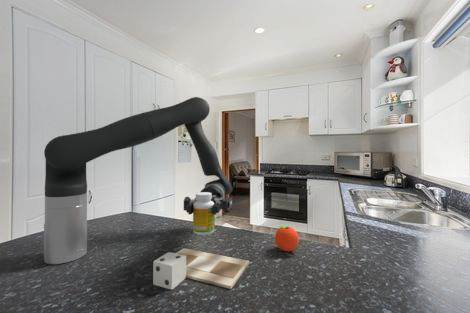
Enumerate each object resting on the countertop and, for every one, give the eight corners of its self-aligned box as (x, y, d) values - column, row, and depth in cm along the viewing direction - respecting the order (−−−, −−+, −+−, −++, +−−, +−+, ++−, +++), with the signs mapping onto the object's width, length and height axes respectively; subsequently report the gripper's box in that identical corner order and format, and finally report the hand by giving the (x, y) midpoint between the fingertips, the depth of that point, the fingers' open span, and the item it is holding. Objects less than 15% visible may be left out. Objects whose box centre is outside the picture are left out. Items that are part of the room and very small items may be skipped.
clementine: (267, 251, 64) (268, 226, 64) (276, 243, 70) (276, 221, 70) (294, 257, 60) (295, 231, 60) (301, 248, 66) (301, 225, 66)
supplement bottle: (210, 236, 52) (210, 195, 52) (189, 234, 53) (189, 194, 53) (217, 228, 57) (216, 191, 57) (197, 227, 58) (197, 191, 58)
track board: (154, 269, 53) (154, 266, 53) (183, 250, 65) (183, 247, 65) (231, 289, 46) (231, 285, 46) (249, 263, 57) (249, 260, 57)
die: (152, 284, 47) (153, 261, 47) (168, 273, 52) (168, 251, 52) (171, 290, 45) (171, 265, 45) (186, 277, 50) (186, 255, 50)
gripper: (189, 184, 70) (172, 194, 53) (234, 185, 69) (231, 195, 52) (189, 208, 70) (172, 225, 53) (234, 208, 69) (231, 226, 52)
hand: (202, 210), depth 53 cm, fingers closed on supplement bottle, 5 cm apart
